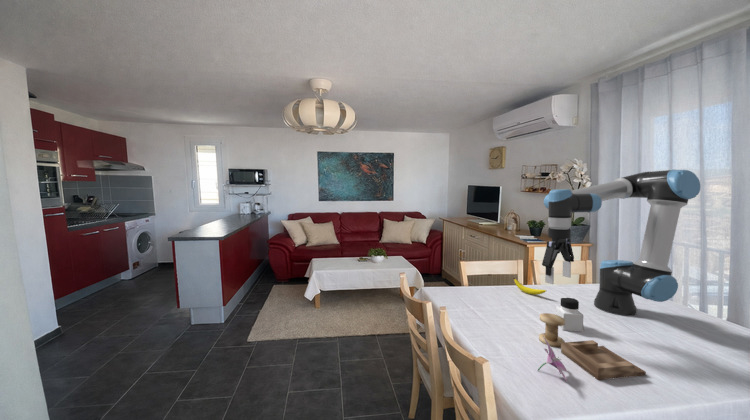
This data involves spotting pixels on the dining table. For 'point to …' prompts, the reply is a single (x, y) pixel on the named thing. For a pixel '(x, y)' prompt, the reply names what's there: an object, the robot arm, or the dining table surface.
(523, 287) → the banana
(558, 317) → the bobbin
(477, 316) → the dining table surface
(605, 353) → the notched board
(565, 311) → the medicine bottle
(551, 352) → the lily
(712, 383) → the dining table surface
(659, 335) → the dining table surface
